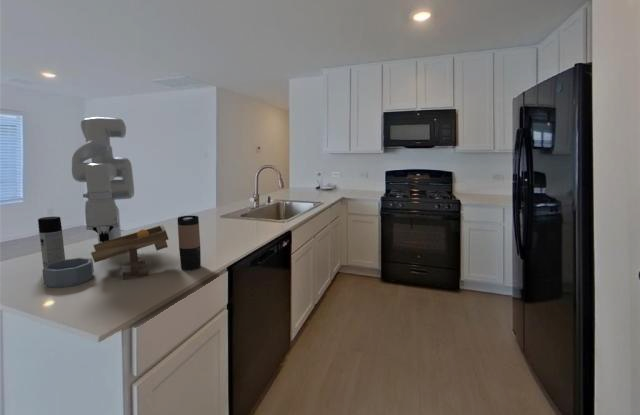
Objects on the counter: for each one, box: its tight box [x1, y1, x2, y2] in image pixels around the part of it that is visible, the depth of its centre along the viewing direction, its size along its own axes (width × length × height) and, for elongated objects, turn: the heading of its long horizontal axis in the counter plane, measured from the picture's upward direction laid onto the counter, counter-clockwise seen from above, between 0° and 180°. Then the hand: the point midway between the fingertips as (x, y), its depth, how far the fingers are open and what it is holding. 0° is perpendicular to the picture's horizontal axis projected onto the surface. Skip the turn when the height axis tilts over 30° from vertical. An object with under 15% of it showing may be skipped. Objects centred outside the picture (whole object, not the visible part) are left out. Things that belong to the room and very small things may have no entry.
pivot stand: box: [121, 248, 149, 281], centre depth 122 cm, size 18×8×10 cm, turn 31°
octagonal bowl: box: [42, 257, 95, 289], centre depth 112 cm, size 13×13×6 cm
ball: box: [137, 229, 149, 238], centre depth 123 cm, size 4×4×4 cm
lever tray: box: [90, 224, 169, 263], centre depth 125 cm, size 20×24×7 cm
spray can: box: [37, 216, 66, 268], centre depth 122 cm, size 7×7×20 cm
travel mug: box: [177, 215, 202, 271], centre depth 125 cm, size 8×8×20 cm
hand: (104, 243), depth 126 cm, fingers closed
